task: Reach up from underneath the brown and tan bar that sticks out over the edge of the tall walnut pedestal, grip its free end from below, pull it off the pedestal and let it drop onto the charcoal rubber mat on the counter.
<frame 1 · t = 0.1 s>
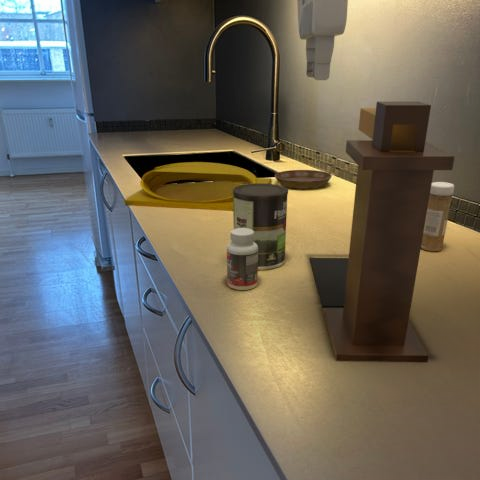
hand: (316, 78, 66), 33 cm above the worktop, tool pointing down, fingers open, 8 cm apart
coffee can: (259, 261, 101), on the worktop
mold: (204, 193, 151), on the worktop
pill bottle: (242, 285, 90), on the worktop
spice jar: (430, 249, 107), on the worktop
brown and tan bar: (383, 139, 68), point 26 cm above the worktop, touching pedestal
mat: (348, 281, 91), on the worktop
pedestal: (371, 335, 74), on the worktop
plant saucer: (302, 185, 161), on the worktop
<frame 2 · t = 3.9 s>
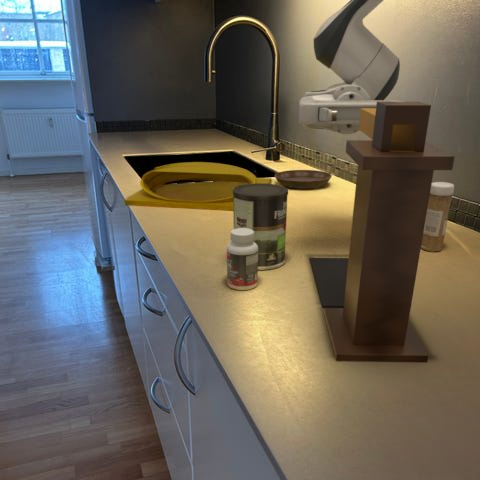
hand: (360, 116, 87), 27 cm above the worktop, tool horizontal, fingers open, 8 cm apart
nothing on the worktop moved.
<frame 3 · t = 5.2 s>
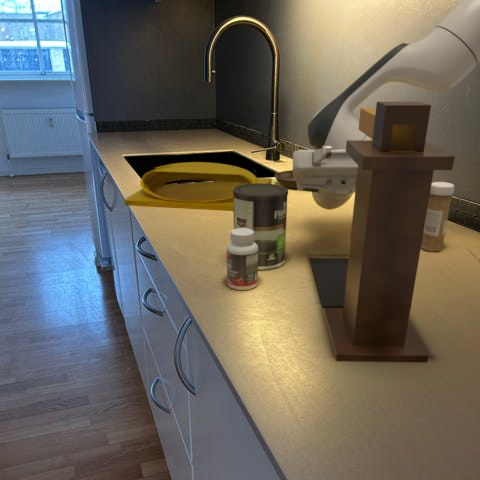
hand: (355, 149, 87), 22 cm above the worktop, tool pointing upward, fingers open, 8 cm apart
nothing on the worktop moved.
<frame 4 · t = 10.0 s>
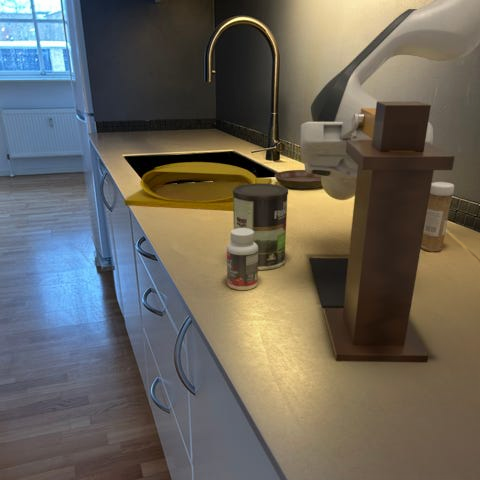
hand: (375, 118, 73), 28 cm above the worktop, tool pointing upward, fingers closed on brown and tan bar, 3 cm apart
brown and tan bar: (383, 139, 68), point 26 cm above the worktop, touching gripper, pedestal
everything else where it was.
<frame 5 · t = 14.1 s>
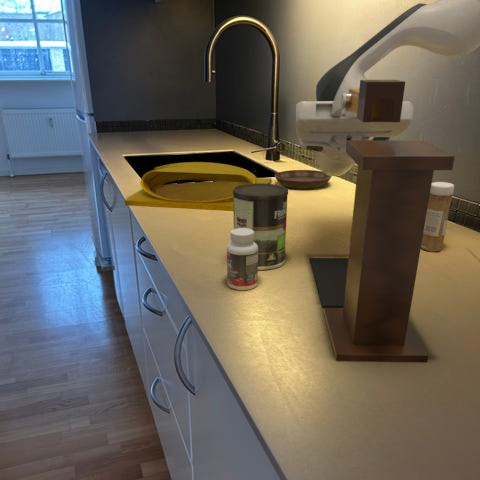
hand: (361, 97, 82), 30 cm above the worktop, tool pointing upward, fingers closed on brown and tan bar, 3 cm apart
brown and tan bar: (367, 114, 78), point 28 cm above the worktop, touching gripper
everything else where it was.
when the fingers open (17 cm above the worktop, at t = 18.2 s): brown and tan bar drops 15 cm, resting on mat.
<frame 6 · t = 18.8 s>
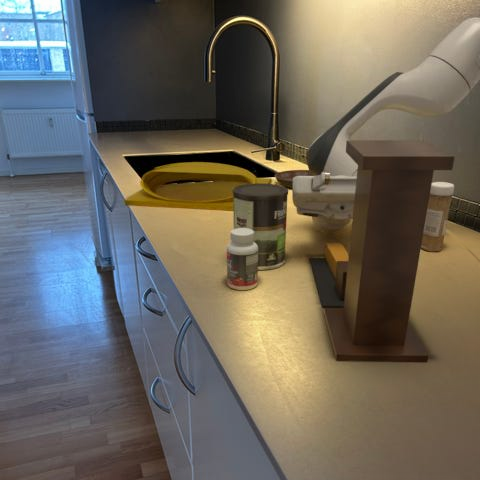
hand: (353, 176, 88), 17 cm above the worktop, tool pointing upward, fingers open, 8 cm apart
brown and tan bar: (342, 276, 92), resting on mat
everything else where it was.
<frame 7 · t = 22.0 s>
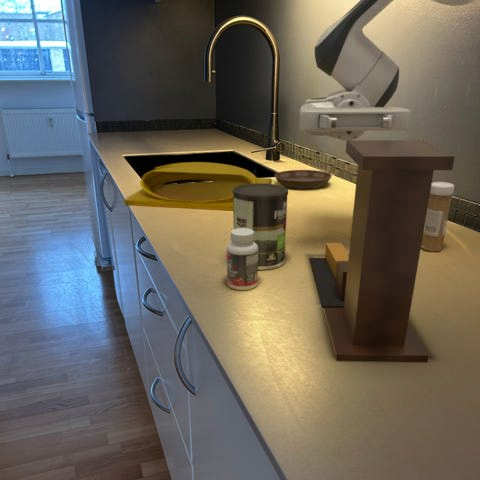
hand: (359, 123, 89), 25 cm above the worktop, tool horizontal, fingers open, 8 cm apart
nothing on the worktop moved.
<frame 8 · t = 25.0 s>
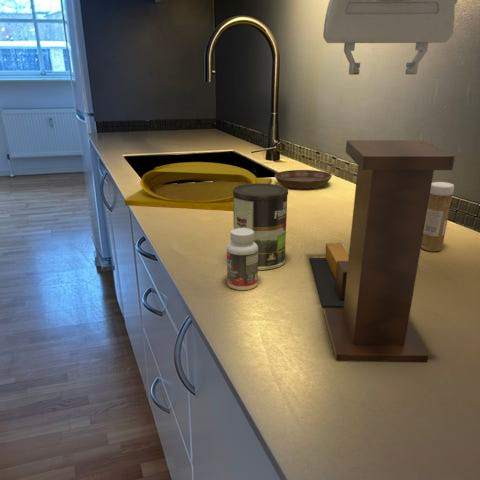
hand: (382, 74, 85), 33 cm above the worktop, tool pointing down, fingers open, 8 cm apart
nothing on the worktop moved.
at the end: brown and tan bar inside the target area (2.3 cm from its centre), resting on mat; brown and tan bar touching mat; the gripper is holding nothing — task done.
